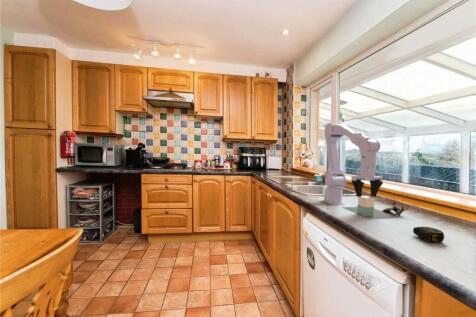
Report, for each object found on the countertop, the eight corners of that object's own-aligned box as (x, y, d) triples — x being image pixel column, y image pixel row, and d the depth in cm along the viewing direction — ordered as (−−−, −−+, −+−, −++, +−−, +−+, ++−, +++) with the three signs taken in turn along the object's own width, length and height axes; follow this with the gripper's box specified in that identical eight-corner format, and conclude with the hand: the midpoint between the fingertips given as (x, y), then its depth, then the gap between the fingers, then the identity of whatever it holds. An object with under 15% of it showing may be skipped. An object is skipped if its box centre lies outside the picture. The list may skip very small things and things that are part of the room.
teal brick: (357, 213, 99) (357, 204, 99) (365, 212, 100) (366, 204, 99) (364, 216, 94) (364, 207, 94) (373, 215, 95) (373, 207, 95)
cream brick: (357, 204, 99) (358, 196, 98) (366, 204, 99) (367, 196, 99) (365, 207, 94) (365, 198, 94) (374, 207, 95) (374, 198, 95)
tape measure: (411, 235, 75) (412, 224, 75) (433, 237, 74) (434, 226, 74) (424, 243, 69) (425, 232, 69) (449, 245, 68) (450, 234, 67)
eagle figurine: (412, 214, 96) (396, 205, 106) (407, 201, 95) (391, 193, 104) (396, 223, 97) (381, 213, 107) (390, 210, 96) (375, 201, 105)
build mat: (341, 208, 108) (341, 207, 108) (369, 207, 111) (369, 206, 111) (369, 219, 91) (369, 218, 91) (401, 218, 93) (401, 218, 93)
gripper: (360, 167, 91) (358, 198, 92) (389, 167, 93) (387, 198, 94) (348, 165, 98) (347, 195, 98) (376, 166, 100) (374, 194, 101)
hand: (366, 196), depth 97 cm, fingers open, 7 cm apart
